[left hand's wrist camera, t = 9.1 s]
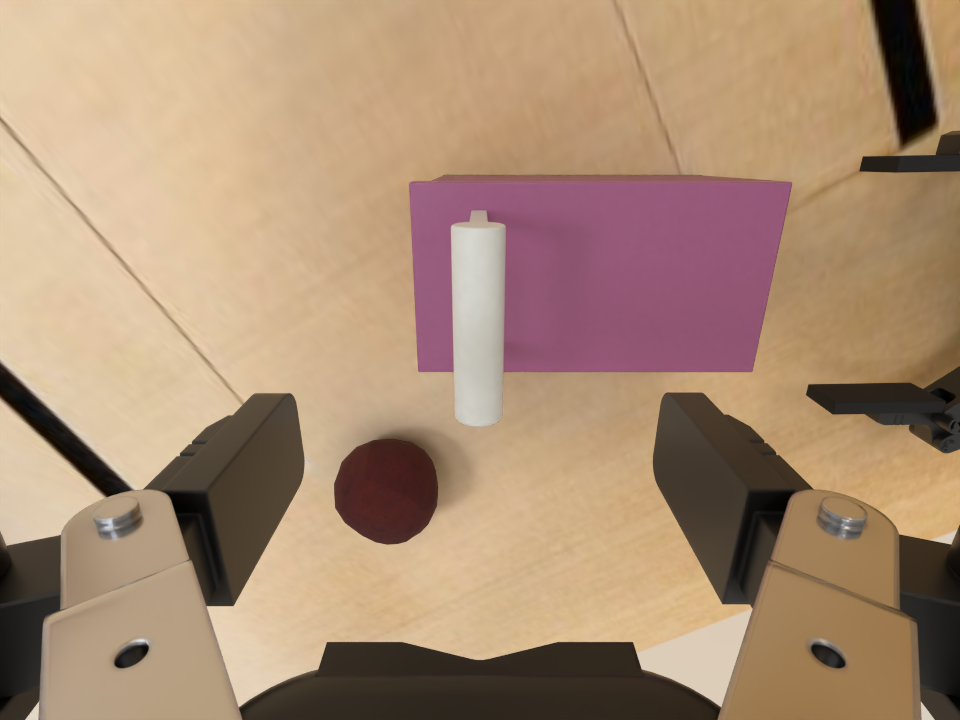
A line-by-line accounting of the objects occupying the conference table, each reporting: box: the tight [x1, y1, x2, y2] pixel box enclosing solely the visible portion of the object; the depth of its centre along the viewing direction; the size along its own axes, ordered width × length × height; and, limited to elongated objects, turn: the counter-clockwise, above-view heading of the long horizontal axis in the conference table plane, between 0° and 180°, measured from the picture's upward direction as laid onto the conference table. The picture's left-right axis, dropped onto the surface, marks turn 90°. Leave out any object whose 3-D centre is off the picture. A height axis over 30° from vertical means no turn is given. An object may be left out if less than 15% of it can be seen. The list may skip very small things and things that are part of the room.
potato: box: [334, 439, 438, 545], centre depth 38 cm, size 7×8×7 cm
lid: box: [409, 181, 792, 427], centre depth 21 cm, size 17×9×9 cm, turn 90°
